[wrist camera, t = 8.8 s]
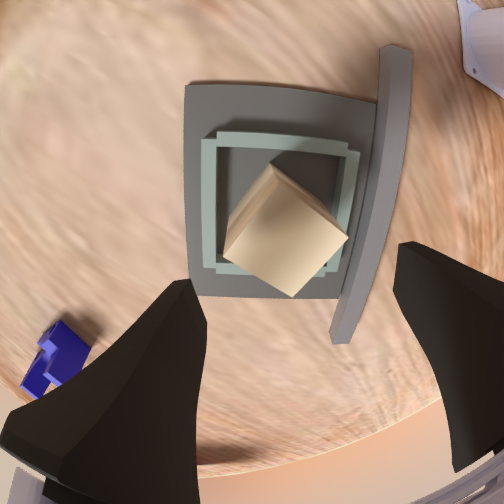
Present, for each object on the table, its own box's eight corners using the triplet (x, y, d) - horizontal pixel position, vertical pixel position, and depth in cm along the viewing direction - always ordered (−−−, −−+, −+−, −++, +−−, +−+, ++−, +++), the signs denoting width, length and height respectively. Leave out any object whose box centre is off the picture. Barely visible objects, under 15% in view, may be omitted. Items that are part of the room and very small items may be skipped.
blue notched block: (61, 318, 22) (35, 361, 16) (91, 347, 23) (71, 391, 18) (29, 346, 24) (11, 378, 19) (53, 367, 26) (37, 400, 21)
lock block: (321, 201, 16) (348, 237, 12) (281, 248, 17) (292, 297, 13) (269, 161, 15) (278, 184, 10) (229, 215, 16) (222, 256, 12)
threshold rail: (400, 55, 11) (412, 52, 10) (344, 331, 22) (349, 343, 21) (380, 48, 11) (391, 44, 10) (328, 331, 22) (332, 344, 21)
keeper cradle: (373, 104, 13) (384, 104, 12) (337, 295, 20) (342, 308, 19) (186, 86, 13) (180, 83, 11) (191, 291, 20) (188, 304, 18)
